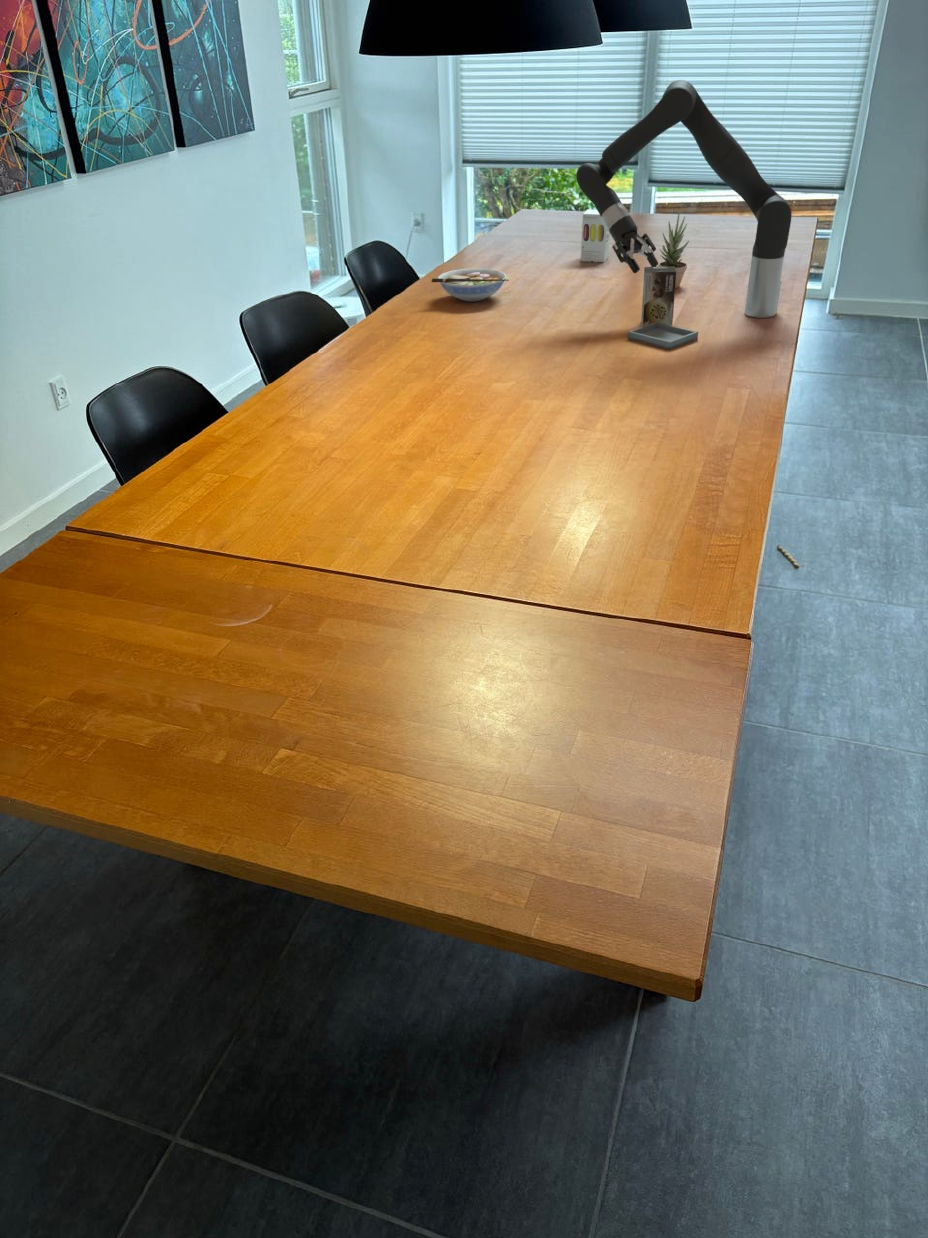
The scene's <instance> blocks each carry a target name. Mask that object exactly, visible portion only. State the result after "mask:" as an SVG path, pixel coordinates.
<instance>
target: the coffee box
mask: <svg viewBox="0 0 928 1238" xmlns="http://www.w3.org/2000/svg"><path fill="white" fill-rule="evenodd" d="M643 271H644V272H643V287H642V288H643V289H642V302H641V303H642V304H641V317H640V318H641V320H640V323H641V327H643V326H646V325H649V324H652V323H655V322H659V323H663V324H667V325H671V326H673V323H674V306H675V297H676V296H675V293H676V288H675V284H676V269H675V266H665V267H658V266H656V267H651V266H644V270H643Z"/></svg>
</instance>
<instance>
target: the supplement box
mask: <svg viewBox="0 0 928 1238" xmlns="http://www.w3.org/2000/svg"><path fill="white" fill-rule="evenodd" d="M581 223H582V224H581V225H582V226H581V245H580V262H591V261H593V263H605V262H606V261H607V259H608V258H609V256H610V252H609V251H610V236H611V234H610V233H609V231H608V229H607V228H606V226H605V224H604V222H603V219H602V217H601V216H600V214H599V212H598V211H597V209H589V208H588V209H586V210H585V211H584V212H583V213H582V222H581ZM591 263H592V262H591Z"/></svg>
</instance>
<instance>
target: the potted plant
mask: <svg viewBox="0 0 928 1238" xmlns="http://www.w3.org/2000/svg"><path fill="white" fill-rule="evenodd" d="M680 212H681V208H679V209H678V214H677V219H676V225H675V230H674V229H673V228H671V223H670V221H668V223H667V224H668V239H667V238H666V236H665V234H664V233H662V236H663V240H664V243H665V245H664V244H662V250H661V249H659V251H660V252H661V254H662V255H661V254H660V257H661V258H662V259H663V261H661V262H658V265H657V267H665V266H675V269H676V284H675V289H678V288H680V286H681V282H682V280H683V277H684V275H685V272H686V271H687V268H688V264H687V263H686V262H684V261H683V262H682V260H683V259H682V258H681V256H682V254H683V251H684V250H685V248H686V247H687V245H688V244H689V242H690V241H689V240H688V241H687V242H685V244H684V245H682V246H681V247H679V246H680V244H681V242H682V240H683V239H684V235H685V234H684V232H685V230H686V227H687V225H688V223H686V224H685V226H684V222H685V219H686V215H685V216H684V217H683V219H682V221H681V223H680V214H681V213H680ZM679 223H680V224H679ZM679 225H680V226H679ZM682 228H683V229H682ZM668 240H669V241H668ZM665 246H666V247H665ZM679 259H680V260H679Z"/></svg>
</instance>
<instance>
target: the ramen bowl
mask: <svg viewBox="0 0 928 1238" xmlns="http://www.w3.org/2000/svg"><path fill="white" fill-rule="evenodd" d="M507 281H510V280H509V279H507V275H506V273H505V272H503V271H500V270H497V269H491V268H481V267H480V268H475V267H473V268H460V269H454V270H449V271H446V272H442V273H441V274H440V275H439V276H437V278H432V279H431V283H440V285H441V286H442V289H444V291H445V292H446V293H447V294H449V295H450V296H451V297H453V298H456V299H459V300H461V301H463V302H466V303H467V302H468V303H469V302H470V303H473V302H475V303H476V302H480V301H484V299H486V298H489V297H491V296H493V295H494V294H496V293H497V292H498V291H499V290H500V289H501V288H502V286H503V285H504V282H507Z"/></svg>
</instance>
